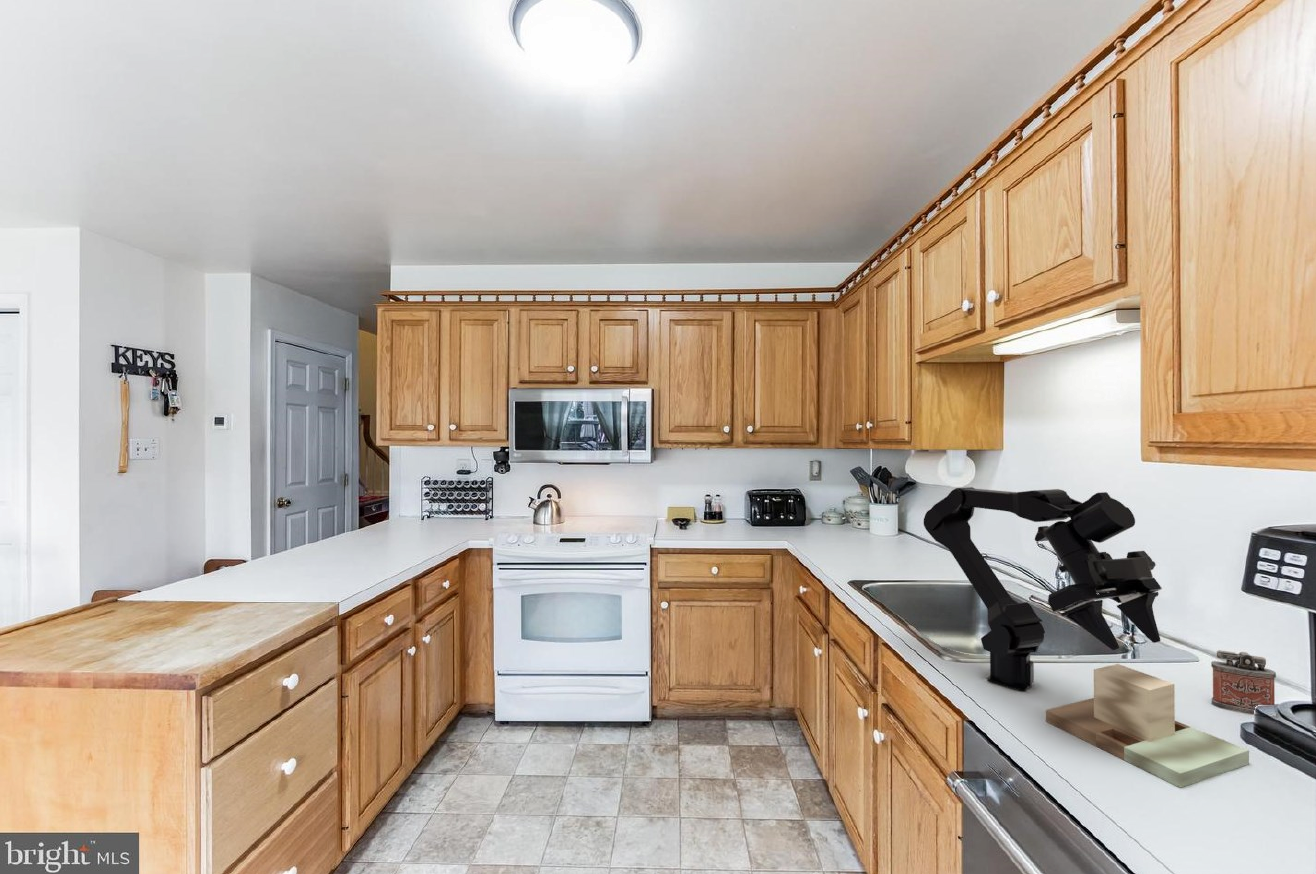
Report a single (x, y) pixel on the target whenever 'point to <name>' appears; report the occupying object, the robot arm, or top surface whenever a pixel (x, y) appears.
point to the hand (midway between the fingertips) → (1137, 645)
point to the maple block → (1134, 702)
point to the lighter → (1242, 682)
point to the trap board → (1153, 746)
